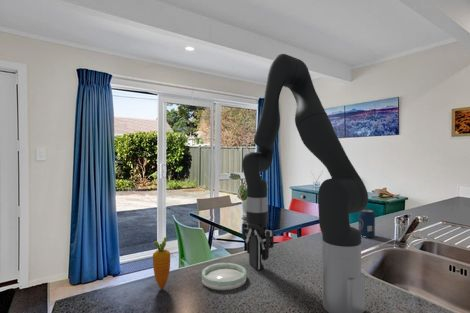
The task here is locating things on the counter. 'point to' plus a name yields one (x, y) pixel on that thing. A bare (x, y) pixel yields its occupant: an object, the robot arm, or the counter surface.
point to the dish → (224, 276)
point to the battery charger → (255, 251)
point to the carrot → (161, 264)
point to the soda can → (367, 223)
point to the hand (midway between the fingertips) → (257, 256)
